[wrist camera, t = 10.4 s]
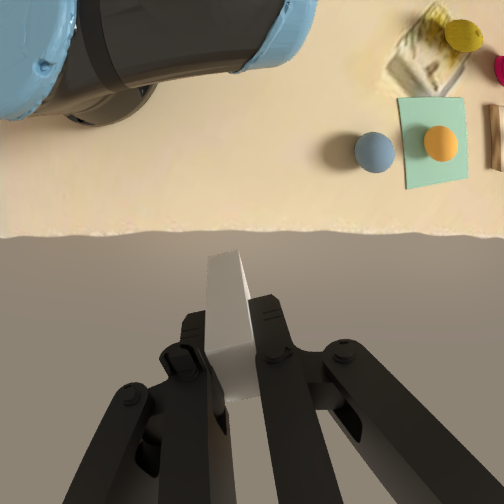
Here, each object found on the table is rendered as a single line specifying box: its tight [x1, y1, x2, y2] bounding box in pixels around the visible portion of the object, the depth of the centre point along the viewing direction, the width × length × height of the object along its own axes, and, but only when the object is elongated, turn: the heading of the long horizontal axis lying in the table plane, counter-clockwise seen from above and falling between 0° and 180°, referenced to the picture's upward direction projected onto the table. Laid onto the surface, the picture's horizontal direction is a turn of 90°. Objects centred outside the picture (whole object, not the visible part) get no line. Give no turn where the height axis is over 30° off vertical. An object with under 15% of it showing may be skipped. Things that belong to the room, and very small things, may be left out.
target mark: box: [398, 97, 468, 189], centre depth 39 cm, size 14×14×1 cm
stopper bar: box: [489, 105, 504, 172], centre depth 38 cm, size 12×3×2 cm, turn 12°
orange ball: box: [424, 126, 458, 162], centre depth 37 cm, size 6×6×6 cm
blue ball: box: [354, 132, 395, 173], centre depth 37 cm, size 6×6×6 cm
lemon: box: [445, 20, 483, 52], centre depth 28 cm, size 6×6×8 cm
